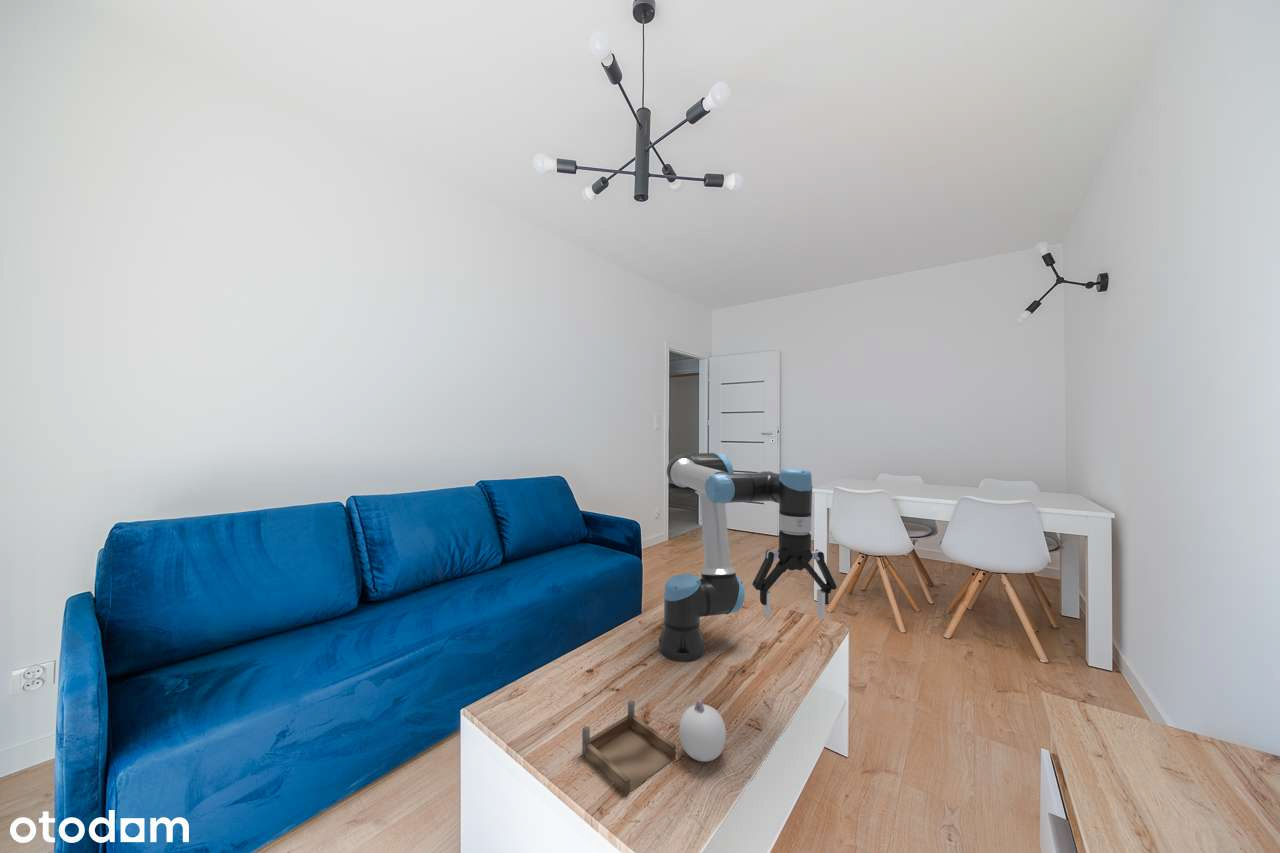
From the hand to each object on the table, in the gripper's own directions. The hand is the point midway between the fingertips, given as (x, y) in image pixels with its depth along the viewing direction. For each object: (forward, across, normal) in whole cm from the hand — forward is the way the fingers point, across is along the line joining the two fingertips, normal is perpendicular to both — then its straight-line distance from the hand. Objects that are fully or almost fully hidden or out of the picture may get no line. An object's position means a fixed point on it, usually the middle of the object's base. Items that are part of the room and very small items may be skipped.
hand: (793, 617), depth 107 cm
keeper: (+26, -41, -10) cm, 49 cm away
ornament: (+26, -24, -10) cm, 37 cm away
